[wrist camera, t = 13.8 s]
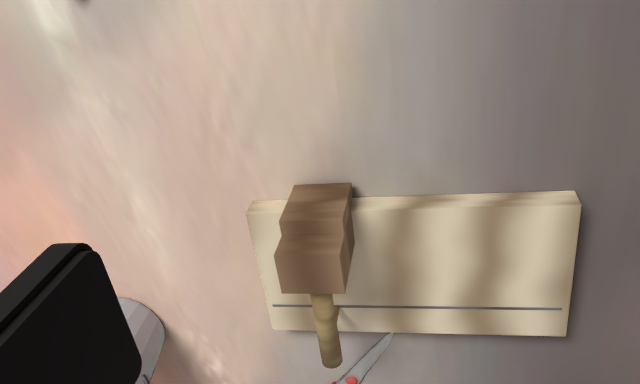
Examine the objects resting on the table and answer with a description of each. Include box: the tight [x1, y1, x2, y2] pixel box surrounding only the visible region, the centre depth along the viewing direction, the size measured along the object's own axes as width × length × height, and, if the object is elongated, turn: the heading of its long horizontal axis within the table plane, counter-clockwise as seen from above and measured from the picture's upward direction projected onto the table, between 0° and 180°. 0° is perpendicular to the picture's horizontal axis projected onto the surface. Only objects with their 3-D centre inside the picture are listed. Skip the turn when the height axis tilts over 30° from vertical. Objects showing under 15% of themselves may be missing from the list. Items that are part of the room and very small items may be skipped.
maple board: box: [246, 191, 581, 336], centre depth 42 cm, size 24×12×2 cm, turn 98°
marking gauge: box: [274, 183, 355, 368], centre depth 40 cm, size 4×13×8 cm, turn 8°
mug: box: [117, 297, 165, 384], centre depth 48 cm, size 10×15×10 cm
